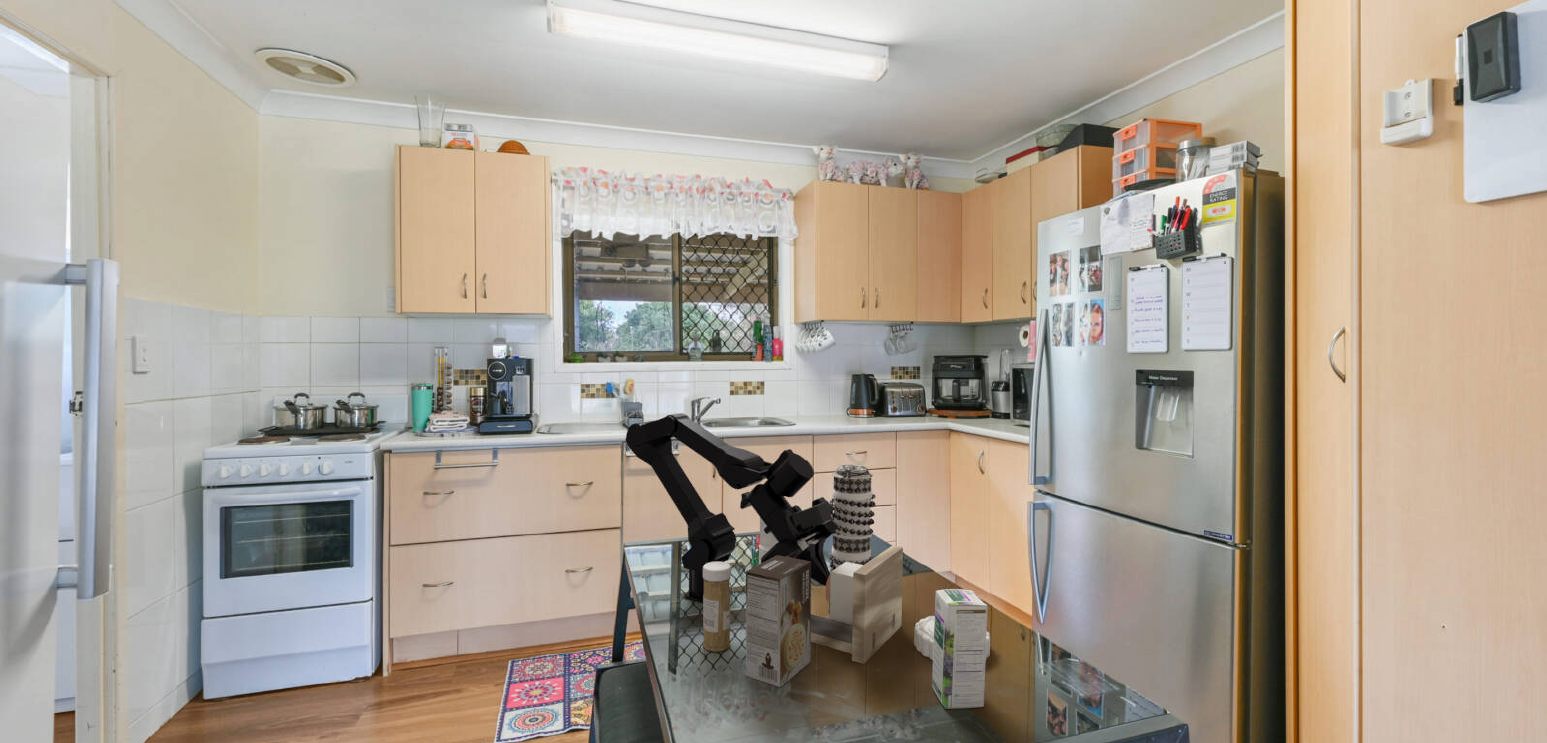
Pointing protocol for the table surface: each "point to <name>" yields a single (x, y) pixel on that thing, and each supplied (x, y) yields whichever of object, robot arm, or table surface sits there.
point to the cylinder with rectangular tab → (765, 541)
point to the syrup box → (959, 648)
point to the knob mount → (867, 609)
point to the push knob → (841, 592)
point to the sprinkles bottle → (716, 606)
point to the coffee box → (778, 619)
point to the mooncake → (932, 637)
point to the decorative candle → (852, 515)
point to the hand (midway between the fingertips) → (830, 585)
